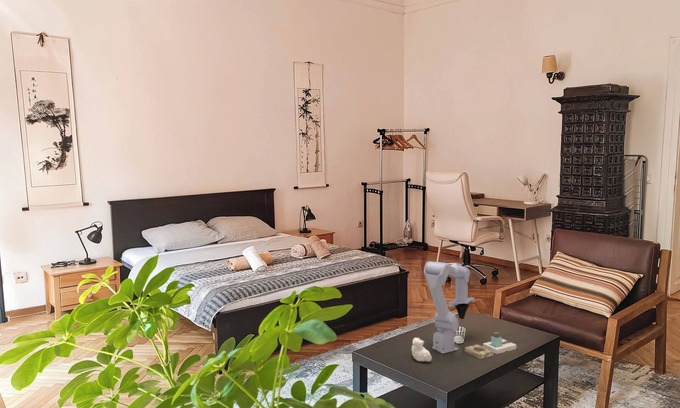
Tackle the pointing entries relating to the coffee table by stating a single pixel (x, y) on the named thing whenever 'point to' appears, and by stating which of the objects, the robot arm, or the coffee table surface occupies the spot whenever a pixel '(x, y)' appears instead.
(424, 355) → the white animal figurine
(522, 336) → the coffee table surface
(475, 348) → the holster
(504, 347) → the port housing
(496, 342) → the plug
